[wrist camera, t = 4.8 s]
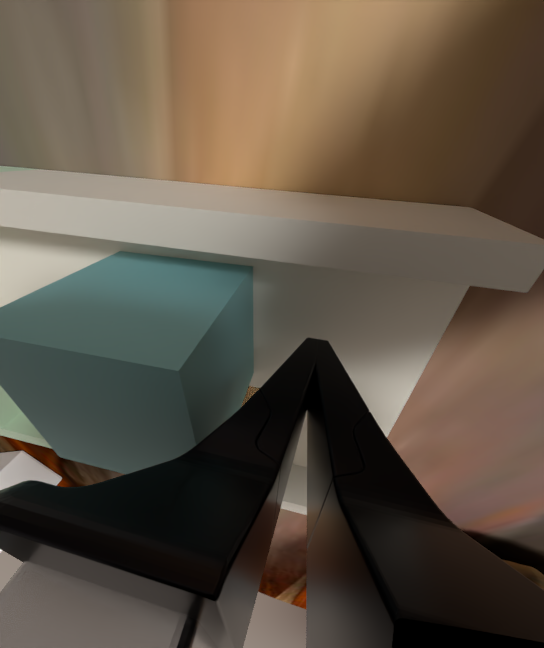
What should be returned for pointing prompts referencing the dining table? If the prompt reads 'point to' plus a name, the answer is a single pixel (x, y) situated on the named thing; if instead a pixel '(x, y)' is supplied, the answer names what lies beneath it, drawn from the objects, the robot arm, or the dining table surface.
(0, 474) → the milk
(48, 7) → the dining table surface
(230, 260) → the box
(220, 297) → the block
